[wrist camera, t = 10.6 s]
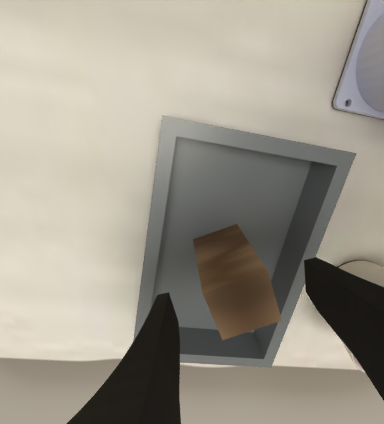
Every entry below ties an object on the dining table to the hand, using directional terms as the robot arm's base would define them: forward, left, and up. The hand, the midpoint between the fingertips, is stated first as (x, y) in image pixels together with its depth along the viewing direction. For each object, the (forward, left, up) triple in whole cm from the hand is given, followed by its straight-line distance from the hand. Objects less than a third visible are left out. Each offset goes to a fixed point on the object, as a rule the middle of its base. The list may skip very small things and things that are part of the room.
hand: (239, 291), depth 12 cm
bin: (-1, +2, -9) cm, 10 cm away
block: (-1, +2, -8) cm, 9 cm away
